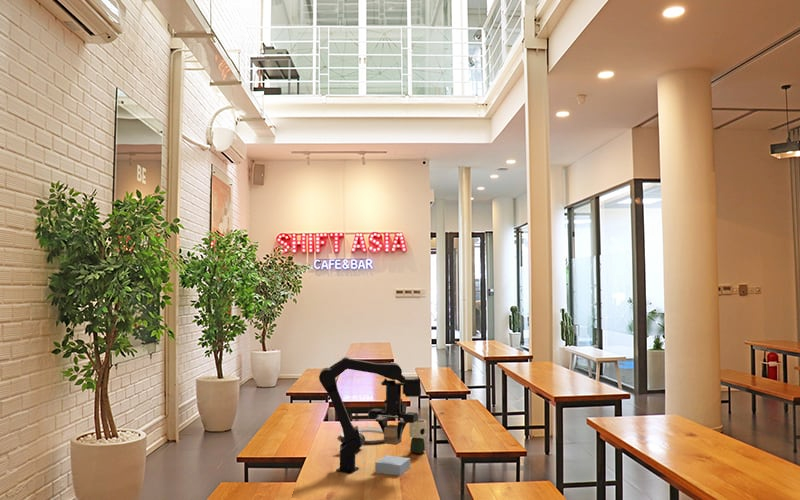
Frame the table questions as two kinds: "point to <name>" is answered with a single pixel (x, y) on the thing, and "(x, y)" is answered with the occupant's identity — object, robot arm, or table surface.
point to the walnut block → (391, 435)
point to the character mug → (417, 436)
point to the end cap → (361, 440)
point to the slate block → (392, 465)
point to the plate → (368, 429)
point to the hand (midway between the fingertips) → (392, 438)
